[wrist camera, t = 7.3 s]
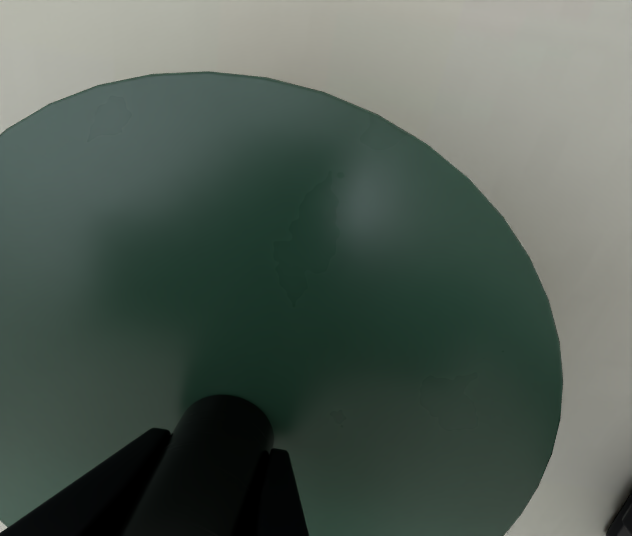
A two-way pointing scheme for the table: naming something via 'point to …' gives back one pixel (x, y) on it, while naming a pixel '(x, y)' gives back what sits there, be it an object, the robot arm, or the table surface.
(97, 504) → the robot arm
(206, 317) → the lid
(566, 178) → the table surface
